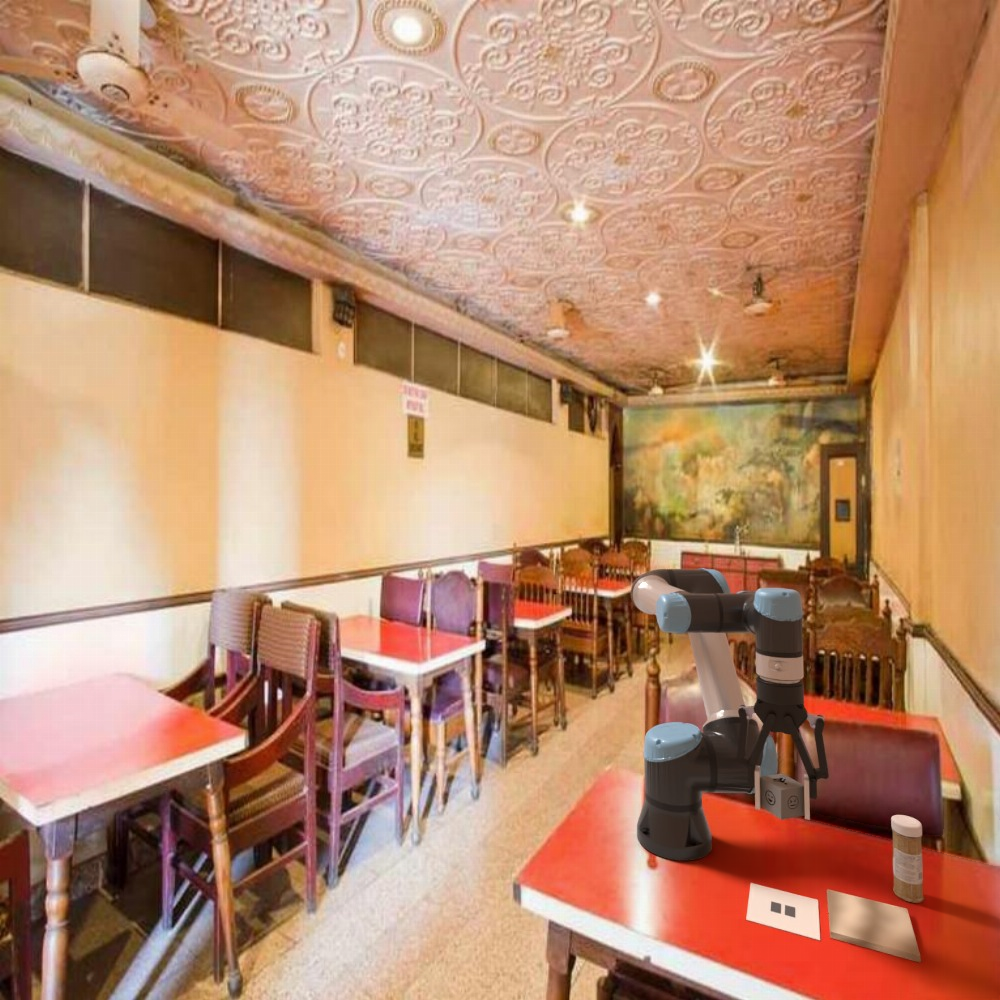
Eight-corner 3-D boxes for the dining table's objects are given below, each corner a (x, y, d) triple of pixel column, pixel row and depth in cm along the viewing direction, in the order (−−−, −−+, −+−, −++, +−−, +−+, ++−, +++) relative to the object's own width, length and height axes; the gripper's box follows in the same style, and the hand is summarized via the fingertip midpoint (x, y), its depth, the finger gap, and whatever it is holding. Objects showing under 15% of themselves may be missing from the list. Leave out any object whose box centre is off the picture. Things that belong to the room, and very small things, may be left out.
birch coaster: (830, 937, 95) (830, 931, 95) (827, 894, 106) (826, 889, 106) (920, 962, 89) (920, 956, 89) (907, 914, 100) (907, 908, 100)
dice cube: (782, 801, 105) (782, 773, 105) (804, 815, 100) (804, 785, 100) (759, 805, 104) (759, 777, 104) (781, 819, 99) (781, 790, 99)
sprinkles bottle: (902, 885, 108) (900, 811, 108) (929, 899, 104) (927, 822, 104) (887, 892, 106) (885, 817, 106) (914, 907, 102) (912, 829, 102)
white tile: (746, 919, 99) (746, 919, 99) (750, 883, 109) (750, 882, 109) (820, 940, 94) (820, 939, 94) (817, 900, 104) (817, 899, 104)
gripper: (716, 676, 104) (718, 807, 103) (846, 690, 95) (850, 835, 94) (721, 666, 110) (723, 789, 110) (843, 679, 101) (847, 813, 101)
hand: (782, 810), depth 102 cm, fingers closed on dice cube, 7 cm apart
